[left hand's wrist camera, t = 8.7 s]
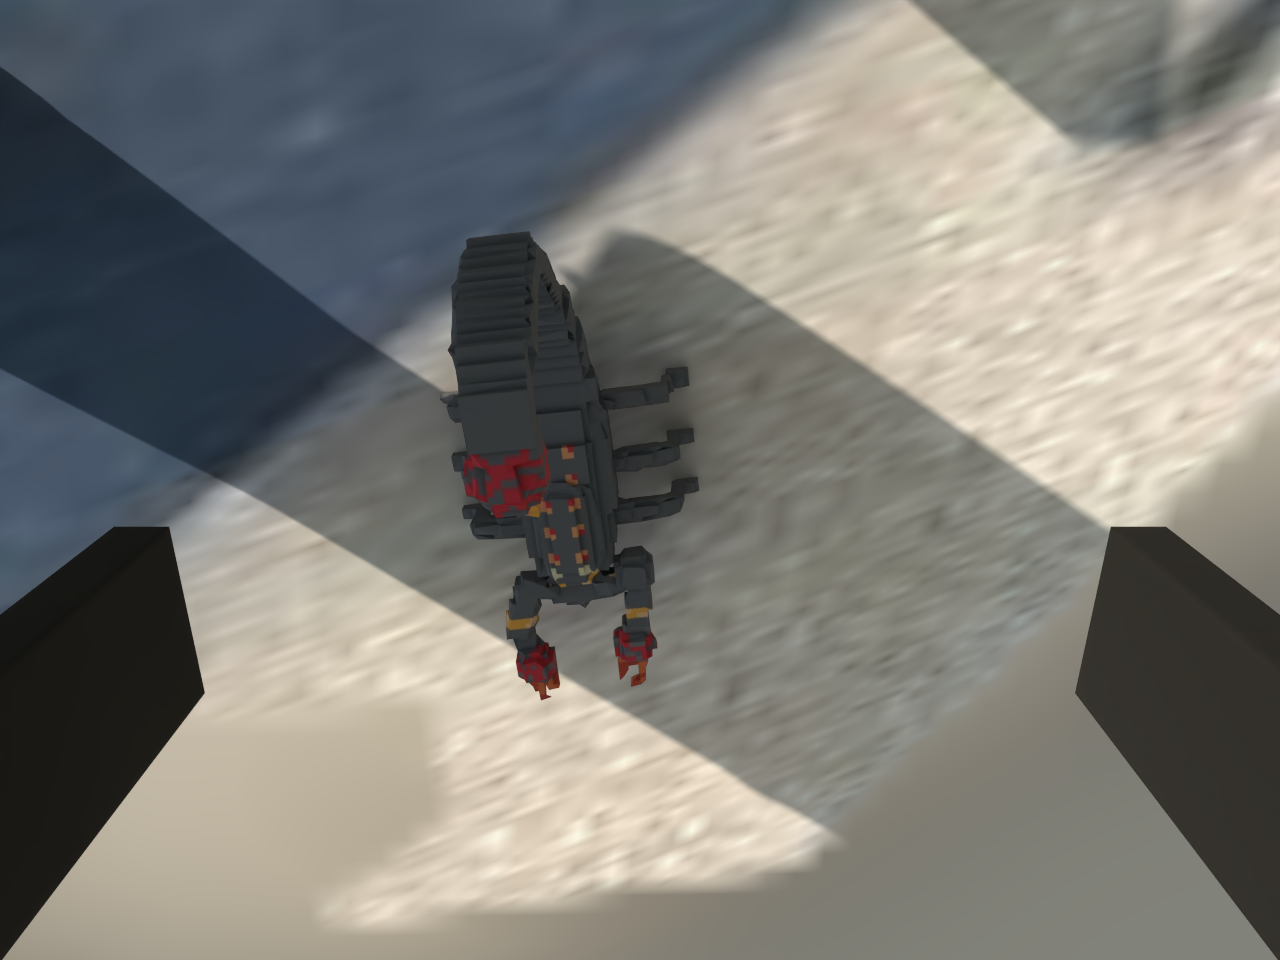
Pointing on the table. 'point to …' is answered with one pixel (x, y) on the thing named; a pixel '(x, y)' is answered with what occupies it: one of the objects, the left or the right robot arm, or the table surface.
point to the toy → (551, 449)
